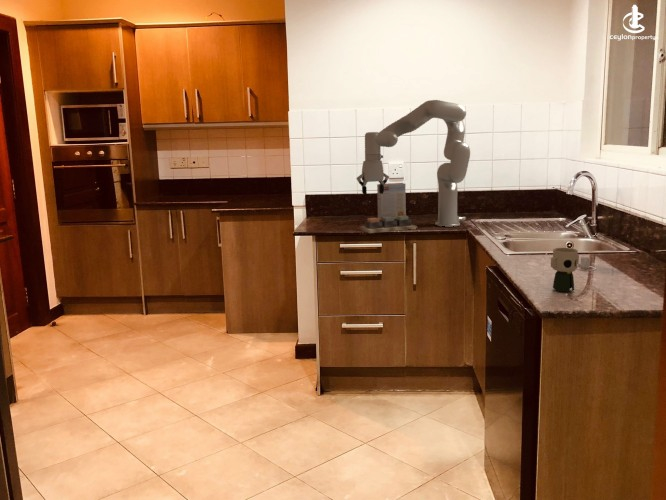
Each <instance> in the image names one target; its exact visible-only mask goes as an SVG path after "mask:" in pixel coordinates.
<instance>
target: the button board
mask: <svg viewBox="0 0 666 500" xmlns="http://www.w3.org/2000/svg"><path fill="white" fill-rule="evenodd" d="M416 228H417V229H418V225H415V224H412V218H411V219H410V218H409V220H398V219H394V221H383V220H380V221H379V222H373V223H370V222H368V220H364V225H363V226H359V230H360V231H362V232H364V233H367V234H375V233H386V232H387V233H388V232H397V231H408V229H411V230H417V229H416Z"/></svg>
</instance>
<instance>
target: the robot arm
mask: <svg viewBox="0 0 666 500" xmlns="http://www.w3.org/2000/svg"><path fill="white" fill-rule="evenodd" d="M466 116H467V111H466V108H465V106H464V105H462V104H460V103H455V102H449V101H444V100H440V99H432V100H426V101H425V102H423V103H422V104H420V105H419V106H417V107H416V108H414V109H413V110H412V111H410V112H409V113H407V114H406V115H404V116H402V117H401V118H399V119H397V120H395V121H394V122H392V123H391V124H389V125H388V126H386V127H385V128H383V129H382V130H380V131H379V132H378V131H369V132H365V134H364V160H363V161H362V168H361V174H359V176H357V177H356V180H357V182H358V183H359V184H360V186H361V193H362V195H364V196H367V194H368V192H367V190H368V189H367V187H368V186H367V184H368V183H370V182H371V183H372V182H375V183H376V182H378V184H380V185H379V193H381V194H383V192H384V185H385V184H387V183H388V180H389V179H390V176H389V175H387V174H386V173H384V166H383V161H382V159H383V158H384V155H382V154H381V147H383V148H384V147H385V148H393V147H394V146H396V145H397V143H398V140H399V137H401V136H403V135H406V134H408V133H409V134H410V133H412V132H414V131H416V130H417V129H420V127H422V126H423V125H424V124H426V123H428V122H429V121H431V119H440V120H442V121H443V122H444V123H445V124H446V127H447V135H446V138H445V139H446V140H445V145H444V149H443V155H444V158H446V159H447V160H449V162H444V163H442V164H440V165H439V166H438V168H437V170H436V177H437V178H436V179H437V185H438V191H437V192H438V193H437V195H438V196H437V197H438V200H437V202H438V203H437V204H438V205H437V207H438V209H437V212H438V213H437V215H438V216H437V221H435V222H434V225H435V226H436V225H437V227H442V226H445V227H444V228H448V227H449V228H451V227H453V226H454V227H458V226H460V225H461V221H463V222H464V221H466V219H467V217H466V216H459V215H458V191H459V190H458V185H457V184H459V183H462V182H463V181H464V180H465V178H466V175H467V171H468V168H469V167H468V166H469V163H470V157H471V149H470V146H469V144H467V143H466V142H464V141H465V136H466V135H465V133H466V128H465V127H466V126H465V123H464V120H465V118H466Z"/></svg>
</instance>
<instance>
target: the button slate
mask: <svg viewBox="0 0 666 500" xmlns="http://www.w3.org/2000/svg"><path fill="white" fill-rule="evenodd" d="M382 220H383V221H394V217H382Z"/></svg>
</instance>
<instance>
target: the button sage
mask: <svg viewBox="0 0 666 500" xmlns="http://www.w3.org/2000/svg"><path fill="white" fill-rule="evenodd" d="M397 219H398V220H409V219H410V218H409V216H408V215H406V216H405V215H402V216H397Z"/></svg>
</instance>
